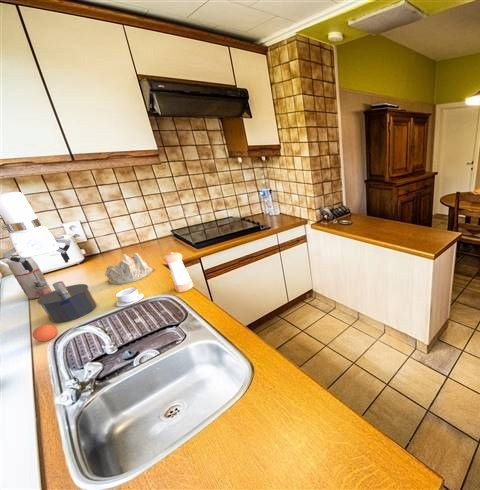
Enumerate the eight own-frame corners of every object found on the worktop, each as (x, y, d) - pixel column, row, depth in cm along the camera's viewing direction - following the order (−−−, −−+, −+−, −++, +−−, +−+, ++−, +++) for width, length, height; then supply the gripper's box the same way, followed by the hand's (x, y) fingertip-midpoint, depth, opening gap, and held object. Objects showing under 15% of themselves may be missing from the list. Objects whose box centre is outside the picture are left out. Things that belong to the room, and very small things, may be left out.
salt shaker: (189, 282, 134) (176, 248, 126) (196, 286, 130) (183, 251, 122) (173, 289, 128) (158, 253, 121) (180, 293, 124) (165, 257, 117)
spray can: (34, 293, 132) (11, 257, 124) (56, 288, 135) (35, 253, 127) (23, 301, 125) (-3, 264, 117) (47, 296, 128) (23, 260, 120)
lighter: (38, 299, 126) (26, 281, 122) (48, 295, 129) (36, 278, 125) (49, 302, 124) (37, 283, 120) (58, 298, 127) (47, 280, 123)
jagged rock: (157, 268, 150) (144, 244, 143) (131, 285, 135) (116, 259, 128) (134, 270, 152) (120, 246, 145) (105, 286, 137) (89, 261, 131)
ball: (36, 347, 96) (27, 334, 93) (38, 339, 100) (29, 327, 97) (60, 338, 100) (52, 325, 97) (61, 331, 104) (53, 318, 101)
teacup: (145, 300, 120) (140, 291, 119) (116, 310, 115) (111, 301, 113) (143, 291, 128) (139, 283, 126) (116, 300, 122) (112, 292, 120)
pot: (51, 330, 104) (38, 311, 100) (53, 311, 116) (41, 293, 113) (97, 313, 113) (87, 295, 109) (95, 297, 125) (85, 280, 121)
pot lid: (37, 310, 102) (28, 297, 99) (40, 296, 111) (32, 284, 109) (89, 294, 111) (82, 281, 109) (88, 282, 120) (81, 270, 118)
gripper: (-15, 234, 90) (14, 278, 97) (58, 221, 101) (80, 261, 108) (-11, 230, 95) (17, 271, 102) (59, 217, 106) (80, 256, 113)
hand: (49, 266), depth 105 cm, fingers open, 9 cm apart
